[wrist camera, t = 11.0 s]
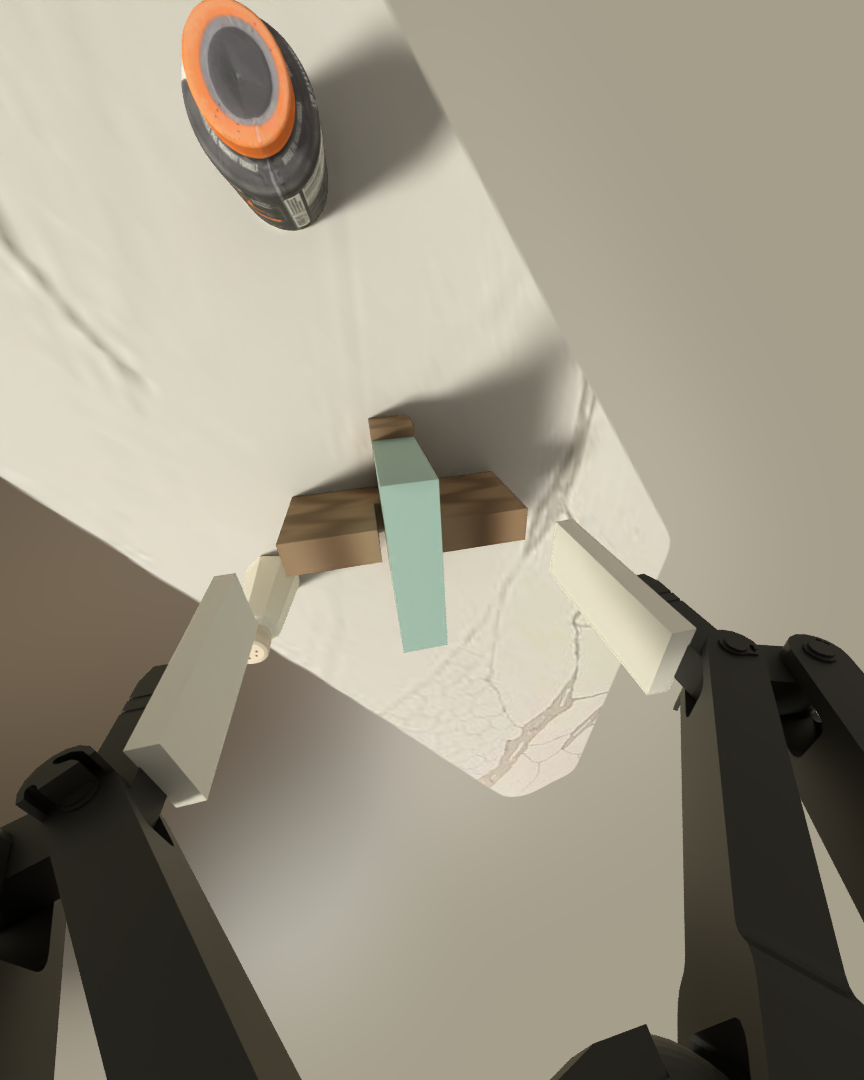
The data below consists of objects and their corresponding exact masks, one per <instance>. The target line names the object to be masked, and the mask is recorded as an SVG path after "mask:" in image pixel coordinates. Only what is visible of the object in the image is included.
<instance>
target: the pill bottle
mask: <svg viewBox="0 0 864 1080" xmlns="http://www.w3.org/2000/svg"><path fill="white" fill-rule="evenodd" d="M181 77H182V93H183V98H184V103H185V107H186V111H187V114H188V118H189V120H190V123H191V126H192V128H193V130H194V133H195V135H196V137H197V139H198V141H199V143H200V145H201V147H202V148H203V150H204V151H205V153H206V155H207V156H208V157H209V159H210V160H211V162H212V163H213V164H214V165H215V167H216V168H217V169H218V170H219V171H220V173H221V174H222V175H223V176H224V177H225V178H226V180H227V181H228V182H229V183H230V184H231V185H232V186H233V188H234V189H235V190H236V191H237V192H238V194H239V195H240V196H241V197H242V198H243V199H244V201H245V202H246V203H247V204H248V205H249V207H250V208H251V209H252V210H253V211H254V212H255V213H256V214H257V215H258V216H259V217H260V218H261V219H263V220H264V221H265V222H267V223H268V224H270V225H273V226H275V227H277V228H279V229H283V230H292V231H295V230H300V229H304V228H306V227H308V226H309V225H311V224H312V223H313V222H314V221H315V220H316V219H317V218H318V217H319V215H320V214H321V212H322V210H323V208H324V205H325V202H326V198H327V192H328V173H327V167H326V160H325V154H324V146H323V136H322V129H321V124H320V120H319V114H318V108H317V104H316V99H315V96H314V92H313V89H312V86H311V84H310V81H309V79H308V76H307V74H306V72H305V70H304V68H303V66H302V64H301V62H300V61H299V59H298V57H297V56H296V54H295V53H294V51H293V50H292V48H291V47H290V46H289V44H288V43H287V42H286V41H285V39H284V38H283V37H282V36H281V35H280V34H279V33H278V32H277V31H276V30H275V29H274V28H273V27H271V26H270V25H269V24H268V23H266V22H265V21H263V20H262V19H260V18H259V17H258V16H257V15H256V14H254V13H253V12H252V11H251V10H250V9H249V8H247V7H246V6H244V5H242V4H240V3H239V2H237V1H235V0H204V1H202V2H201V3H199V4H198V5H197V6H196V7H195V8H194V9H193V10H192V11H191V13H190V15H189V17H188V19H187V21H186V24H185V27H184V30H183V36H182V66H181Z"/></svg>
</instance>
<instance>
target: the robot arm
mask: <svg viewBox="0 0 864 1080" xmlns="http://www.w3.org/2000/svg"><path fill="white" fill-rule="evenodd" d="M549 573H550V575H551V576H552V577H553V578H554V580H555V581H556V582H557V583H558V585H559V586H560V587H561V588H562V590H563V591H564V592H565V593H566V595H567V596H568V597H569V598H570V600H571V601H572V602H573V603H574V605H575V606H576V607H577V608H578V610H579V611H580V612H581V613H582V615H583V616H584V617H585V618H586V620H587V621H588V622H589V623H590V625H591V626H592V627H593V628H594V630H595V631H596V632H597V633H598V635H599V636H600V637H601V638H602V640H603V641H604V642H605V643H606V645H607V646H608V647H609V648H610V650H611V651H612V652H613V653H614V655H615V656H616V657H617V658H618V660H619V661H620V662H621V663H622V665H623V666H624V667H625V668H626V669H627V671H628V672H629V673H630V675H631V676H632V677H633V678H634V680H635V681H636V682H637V683H638V685H639V686H640V687H641V688H642V690H643V691H644V692H645V693H646V695H652V694H656V693H660V692H664V691H668V690H669V689H670V687H671V684H672V682H673V680H674V678H675V679H676V680H677V681H678V682H679V683H680V684H681V685H682V686H683V688H682V690H681V692H680V694H679V696H678V698H677V700H676V702H675V705H674V708H673V709H674V710H676V711H677V710H678V708H679V706H680V707H681V708H680V710H681V758H682V759H681V760H682V761H681V763H682V811H683V814H682V816H683V865H684V866H683V867H684V919H685V967H684V973H683V977H682V981H681V985H680V990H679V998H678V1043H676V1042H674V1041H672V1040H669V1039H666V1038H663V1037H660V1036H656V1035H651V1034H650V1032H649V1030H648V1027H647V1025H646V1024H645V1025H642V1026H639V1027H637V1028H634V1029H632V1030H629V1031H626V1032H623V1033H621V1034H618V1035H615V1036H613V1037H610V1038H607V1039H605V1040H602V1041H599V1042H596V1043H594V1044H592V1045H591V1046H589V1047H588V1048H586V1049H584V1050H583V1051H581V1052H580V1053H578V1054H577V1055H575V1056H574V1057H572V1058H571V1059H570V1060H569V1061H568V1062H567V1063H566V1064H565V1065H564V1066H563V1067H562V1068H561V1069H560V1070H559V1071H558V1072H557V1073H556V1074H555V1075H554V1076H553V1078H551V1079H550V1080H864V1005H863V1004H862V1003H861V1002H860V1001H859V1000H858V999H857V998H856V997H855V996H854V994H853V992H852V990H851V989H850V987H849V984H848V981H847V978H846V976H845V972H844V968H843V964H842V960H841V956H840V953H839V948H838V945H837V941H836V937H835V933H834V929H833V925H832V921H831V917H830V913H829V909H828V905H827V901H826V897H825V893H824V889H823V886H822V882H821V878H820V874H819V870H818V866H817V862H816V858H815V854H814V850H813V846H812V843H811V838H810V835H809V831H808V827H807V823H806V819H805V815H804V811H803V807H802V804H801V800H802V802H803V804H804V806H805V808H806V810H807V812H808V814H809V816H810V818H811V820H812V822H813V824H814V826H815V828H816V829H817V832H818V834H819V836H820V837H821V839H822V841H823V843H824V845H825V847H826V849H827V851H828V853H829V855H830V857H831V859H832V861H833V863H834V865H835V867H836V869H837V871H838V873H839V874H840V877H841V878H842V881H843V883H844V884H845V886H846V888H847V890H848V892H849V894H850V896H851V898H852V900H853V902H854V904H855V906H856V908H857V910H858V912H859V914H860V916H861V918H862V920H863V922H864V673H863V672H862V671H861V670H860V668H859V667H858V666H857V665H856V664H855V662H854V661H853V660H852V659H851V658H850V657H849V656H848V655H847V654H846V653H845V652H844V651H843V650H842V649H841V648H839V647H837V646H835V645H834V644H832V643H830V642H828V641H826V640H823V639H821V638H818V637H814V636H810V635H805V634H804V635H803V634H802V635H801V634H796V635H793V636H791V637H789V639H788V640H787V642H786V644H785V645H784V646H768V645H756V644H755V643H754V642H753V641H752V640H750V639H748V638H746V637H745V636H743V635H740V634H738V633H735V632H732V631H726V630H717V629H716V628H714V627H713V626H712V625H711V624H710V623H708V622H707V621H706V620H705V619H703V618H702V617H701V616H700V615H699V614H698V613H696V612H695V611H694V610H693V609H692V608H690V607H689V606H688V605H687V604H686V603H684V602H683V601H680V598H678V597H677V596H676V595H675V594H674V593H671V592H670V590H669V589H667V588H666V587H665V586H664V585H663V584H662V583H660V582H659V581H657V580H655V579H653V578H651V577H649V576H647V575H645V574H640V575H635V574H634V573H633V572H632V571H631V570H630V569H629V568H628V567H626V566H625V565H624V564H623V563H622V562H621V561H620V560H618V559H617V558H616V557H615V556H614V555H613V554H612V553H611V552H609V551H608V550H607V549H606V548H605V547H604V546H603V545H601V544H600V543H599V542H598V541H597V540H596V539H595V538H593V537H592V536H591V535H590V534H589V533H588V532H587V531H586V530H584V529H583V528H582V527H581V526H580V525H579V524H578V523H576V522H575V521H574V520H573V519H571V520H564V521H558V522H556V527H555V534H554V541H553V549H552V556H551V564H550V571H549ZM257 628H258V624H257V621H256V619H255V617H254V615H253V612H252V610H251V608H250V605H249V603H248V601H247V599H246V596H245V594H244V592H243V589H242V587H241V585H240V583H239V580H238V578H237V576H236V573H233V574H227V575H221V576H215V577H214V578H213V580H212V582H211V584H210V585H209V587H208V589H207V591H206V593H205V595H204V597H203V599H202V601H201V603H200V605H199V607H198V609H197V610H196V612H195V614H194V616H193V618H192V620H191V622H190V624H189V626H188V628H187V630H186V631H185V633H184V635H183V637H182V639H181V641H180V643H179V645H178V647H177V649H176V651H175V653H174V654H173V656H172V658H171V660H170V662H169V664H166V665H160V666H155V667H153V668H152V669H151V670H150V671H149V672H148V673H147V674H146V675H145V676H144V677H143V678H142V679H141V680H140V681H139V682H138V684H137V686H136V687H135V689H134V691H133V692H132V694H131V696H130V698H129V701H127V703H126V704H125V706H124V708H123V710H122V711H121V712H122V714H121V715H119V717H118V718H117V720H116V722H115V723H114V725H113V727H112V729H111V730H110V732H109V734H108V736H107V737H106V739H105V741H104V742H103V744H102V746H101V748H100V749H99V751H98V753H97V752H96V751H95V750H94V749H93V748H91V747H90V746H82V745H79V746H76V747H72V748H69V749H66V750H64V751H62V752H60V753H58V754H56V755H54V756H53V757H51V758H50V759H48V760H47V761H46V762H45V763H43V764H42V765H40V766H39V767H38V768H37V769H36V770H35V771H34V772H33V773H32V774H31V775H30V776H29V777H28V778H27V779H26V780H25V781H24V783H23V785H22V787H21V788H20V790H19V791H18V793H17V797H16V805H17V806H18V807H19V808H21V809H23V810H24V811H25V812H27V813H28V815H26V816H24V817H21V818H19V819H17V820H15V821H13V822H11V823H9V824H7V825H5V826H3V827H1V828H0V1080H54V1069H55V1056H56V1043H57V1031H58V1018H59V1005H60V991H61V979H62V967H63V954H64V953H63V952H64V941H65V928H66V921H67V925H68V928H69V933H70V937H71V941H72V944H73V948H74V952H75V956H76V960H77V964H78V967H79V972H80V976H81V980H82V984H83V987H84V991H85V995H86V999H87V1003H88V1007H89V1011H90V1015H91V1018H92V1023H93V1027H94V1030H95V1034H96V1038H97V1042H98V1046H99V1050H100V1054H101V1058H102V1062H103V1066H104V1070H105V1073H106V1077H107V1080H301V1078H300V1076H299V1074H298V1072H297V1070H296V1068H295V1067H294V1064H293V1062H292V1061H291V1059H290V1057H289V1055H288V1053H287V1051H286V1049H285V1047H284V1045H283V1043H282V1041H281V1040H280V1038H279V1036H278V1034H277V1032H276V1030H275V1028H274V1026H273V1024H272V1022H271V1021H270V1019H269V1017H268V1015H267V1013H266V1011H265V1009H264V1007H263V1005H262V1003H261V1001H260V1000H259V998H258V996H257V994H256V992H255V990H254V988H253V986H252V984H251V982H250V980H249V978H248V977H247V975H246V973H245V971H244V969H243V967H242V965H241V963H240V961H239V959H238V957H237V956H236V954H235V952H234V950H233V948H232V946H231V944H230V942H229V940H228V938H227V936H226V934H225V933H224V931H223V929H222V927H221V925H220V923H219V921H218V919H217V917H216V915H215V913H214V912H213V910H212V908H211V906H210V904H209V902H208V900H207V898H206V896H205V894H204V892H203V891H202V889H201V887H200V885H199V883H198V881H197V879H196V877H195V875H194V873H193V871H192V869H191V868H190V866H189V864H188V862H187V860H186V858H185V856H184V854H183V852H182V851H181V849H180V847H179V845H178V843H177V841H176V839H175V837H174V835H173V833H172V831H171V829H170V827H169V826H168V824H167V822H166V820H165V819H164V818H163V816H162V815H161V814H160V813H161V810H162V808H163V805H164V802H165V800H166V797H167V798H168V799H169V800H170V801H171V802H172V803H173V805H174V806H175V807H180V806H184V805H189V804H192V803H197V802H201V801H205V800H207V798H208V795H209V791H210V788H211V784H212V781H213V778H214V774H215V771H216V768H217V764H218V761H219V757H220V753H221V751H222V747H223V744H224V740H225V737H226V734H227V730H228V726H229V723H230V720H231V716H232V713H233V710H234V706H235V703H236V699H237V696H238V693H239V689H240V686H241V682H242V679H243V676H244V672H245V669H246V665H247V662H248V659H249V655H250V652H251V648H252V645H253V642H254V638H255V635H256V631H257ZM816 711H817V713H818V714H819V716H820V717H819V716H818V714H817V713H816ZM800 798H801V799H800Z"/></svg>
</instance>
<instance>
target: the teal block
mask: <svg viewBox="0 0 864 1080" xmlns="http://www.w3.org/2000/svg"><path fill="white" fill-rule="evenodd" d="M372 446H373V453H374V460H375V467H376V474H377V481H378V487H379V494H380V501H381V508H382V515H383V522H384V528H385V535H386V542H387V549H388V556H389V563H390V569H391V576H392V583H393V589H394V595H395V601H396V607H397V613H398V619H399V625H400V631H401V637H402V643H403V650H404V653H406V652H411V651H416V650H422V649H427V648H432V647H437V646H442V645H448V644H447V625H446V606H445V588H444V569H443V550H442V531H441V512H440V494H439V479H438V477H437V475H436V474H435V472H434V470H433V468H432V467H431V465H430V463H429V462H428V460H427V458H426V456H425V455H424V453H423V451H422V449H421V448H420V446H419V444H418V443H417V441H416V439H415V437H414V436H413V437H404V438H396V439H387V440H378V441H372Z"/></svg>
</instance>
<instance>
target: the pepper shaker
mask: <svg viewBox="0 0 864 1080" xmlns="http://www.w3.org/2000/svg"><path fill="white" fill-rule="evenodd" d="M299 583H300V582H299V575H296V576H289V577H286V574H285V571H284V568H283V565H282V562H281V559H280V556H260V557H259V558H258V559H257V560H256V561H255V562H253V563H252V564H251V565H250V566H249V567H248V568H247V571H246V575H245V579H244V584H243V588H242V589H243V592H244V594H245V596H246V599H247V601H248V603H249V605H250V608H251V610H252V612H253V615H254V617H255V619H256V621H257V624H258V628H257V631H256V635H255V638H254V642H253V645H252V648H251V652H250V655H249V659H248V662H247V664H254V663H259V662H261V661H263V660H264V659H266V658H267V656H268V655H269V651H270V648H269V647H270V644H271V641H273V640H274V639H275V638H276V637H278V636H279V634H280V632H281V630H282V627H283V624H284V622H285V619H286V617H287V614H288V612H289V609H290V606H291V604H292V601H293V599H294V596H295V594H296V591H297V588H298V586H299Z"/></svg>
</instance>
